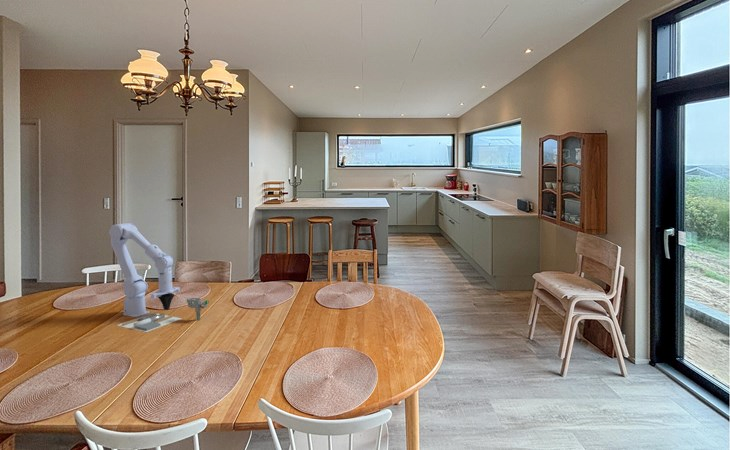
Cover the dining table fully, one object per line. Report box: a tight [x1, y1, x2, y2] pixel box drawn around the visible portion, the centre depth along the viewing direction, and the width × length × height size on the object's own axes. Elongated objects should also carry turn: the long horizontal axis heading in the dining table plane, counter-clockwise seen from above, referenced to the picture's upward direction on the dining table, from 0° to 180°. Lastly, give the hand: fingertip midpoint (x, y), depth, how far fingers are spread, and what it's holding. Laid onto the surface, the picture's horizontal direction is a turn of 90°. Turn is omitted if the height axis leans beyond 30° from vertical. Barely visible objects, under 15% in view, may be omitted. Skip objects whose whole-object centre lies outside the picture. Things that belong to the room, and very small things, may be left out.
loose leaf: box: [138, 313, 166, 322], centre depth 198 cm, size 8×7×2 cm
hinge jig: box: [116, 312, 183, 333], centre depth 196 cm, size 19×19×3 cm
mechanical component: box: [186, 297, 209, 321], centre depth 199 cm, size 3×10×10 cm, turn 78°
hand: (166, 309), depth 205 cm, fingers closed
